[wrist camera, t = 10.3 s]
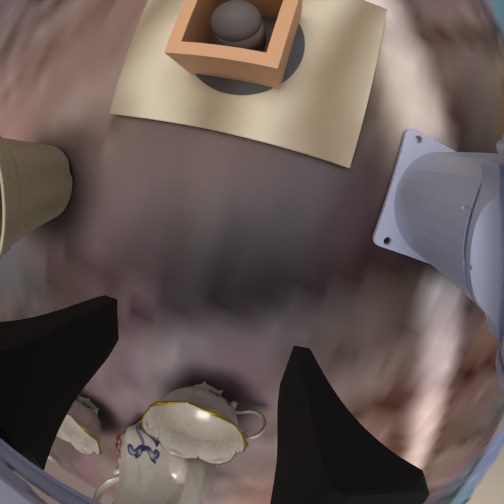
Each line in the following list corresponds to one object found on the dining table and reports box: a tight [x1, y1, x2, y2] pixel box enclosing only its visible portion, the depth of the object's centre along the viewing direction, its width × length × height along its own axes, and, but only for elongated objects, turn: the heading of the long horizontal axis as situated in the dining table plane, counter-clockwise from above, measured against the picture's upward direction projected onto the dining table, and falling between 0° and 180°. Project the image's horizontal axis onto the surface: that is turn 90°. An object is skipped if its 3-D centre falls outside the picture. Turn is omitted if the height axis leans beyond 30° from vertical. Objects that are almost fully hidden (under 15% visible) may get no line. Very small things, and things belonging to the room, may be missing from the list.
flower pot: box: [0, 137, 73, 259], centre depth 15 cm, size 9×9×9 cm
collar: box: [164, 0, 303, 89], centre depth 12 cm, size 6×6×4 cm
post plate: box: [109, 0, 387, 168], centre depth 13 cm, size 16×12×6 cm
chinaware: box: [56, 381, 266, 504], centre depth 20 cm, size 28×17×17 cm, turn 118°
